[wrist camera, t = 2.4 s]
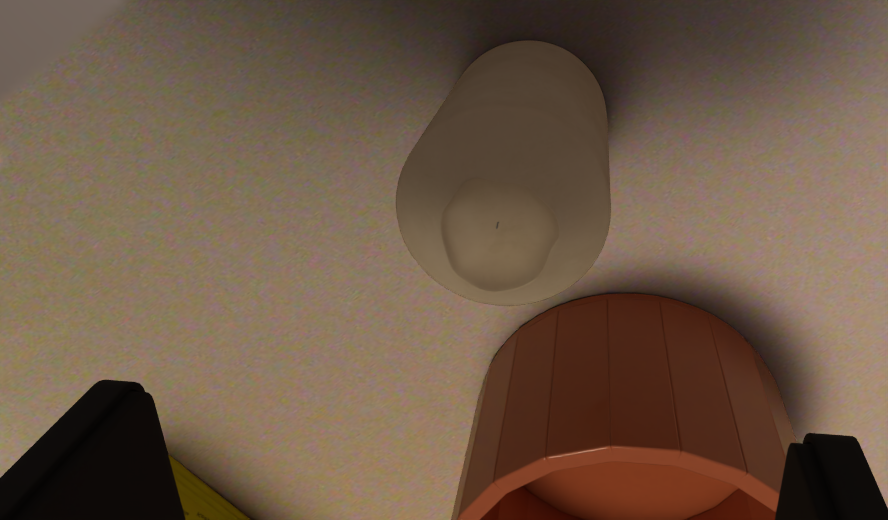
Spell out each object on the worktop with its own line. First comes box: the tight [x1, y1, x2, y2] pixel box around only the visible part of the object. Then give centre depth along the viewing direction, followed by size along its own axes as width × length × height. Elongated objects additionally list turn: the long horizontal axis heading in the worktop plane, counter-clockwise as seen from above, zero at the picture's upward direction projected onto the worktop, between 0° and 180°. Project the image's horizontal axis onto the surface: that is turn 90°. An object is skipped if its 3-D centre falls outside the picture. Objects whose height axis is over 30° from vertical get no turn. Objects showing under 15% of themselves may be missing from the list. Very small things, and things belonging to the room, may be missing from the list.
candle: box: [396, 40, 611, 306], centre depth 23 cm, size 6×6×10 cm
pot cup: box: [451, 293, 797, 520], centre depth 28 cm, size 12×12×9 cm
